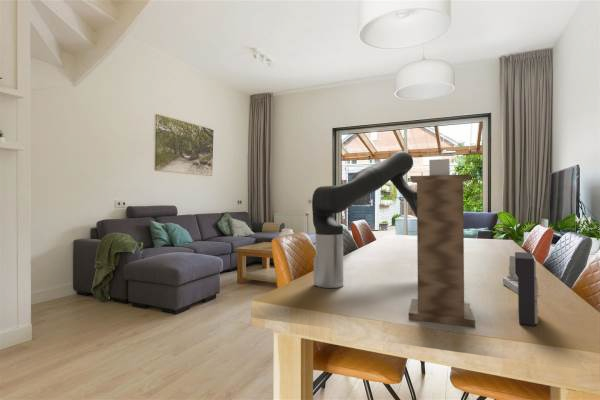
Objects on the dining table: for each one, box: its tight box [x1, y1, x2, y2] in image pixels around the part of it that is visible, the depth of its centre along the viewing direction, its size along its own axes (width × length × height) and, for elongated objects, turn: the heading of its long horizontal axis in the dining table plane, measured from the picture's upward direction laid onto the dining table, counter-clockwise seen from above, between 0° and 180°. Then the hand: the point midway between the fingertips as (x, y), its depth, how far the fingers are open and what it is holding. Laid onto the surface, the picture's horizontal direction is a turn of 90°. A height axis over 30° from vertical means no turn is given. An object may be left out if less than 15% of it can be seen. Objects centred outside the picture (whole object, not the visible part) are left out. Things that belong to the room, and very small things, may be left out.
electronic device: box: [502, 255, 518, 295], centre depth 108 cm, size 5×10×15 cm
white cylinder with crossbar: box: [428, 158, 451, 176], centre depth 90 cm, size 21×4×4 cm, turn 159°
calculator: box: [514, 251, 539, 327], centre depth 81 cm, size 11×4×15 cm, turn 148°
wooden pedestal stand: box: [408, 173, 476, 328], centre depth 84 cm, size 14×14×34 cm
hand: (438, 187), depth 102 cm, fingers open, 8 cm apart
